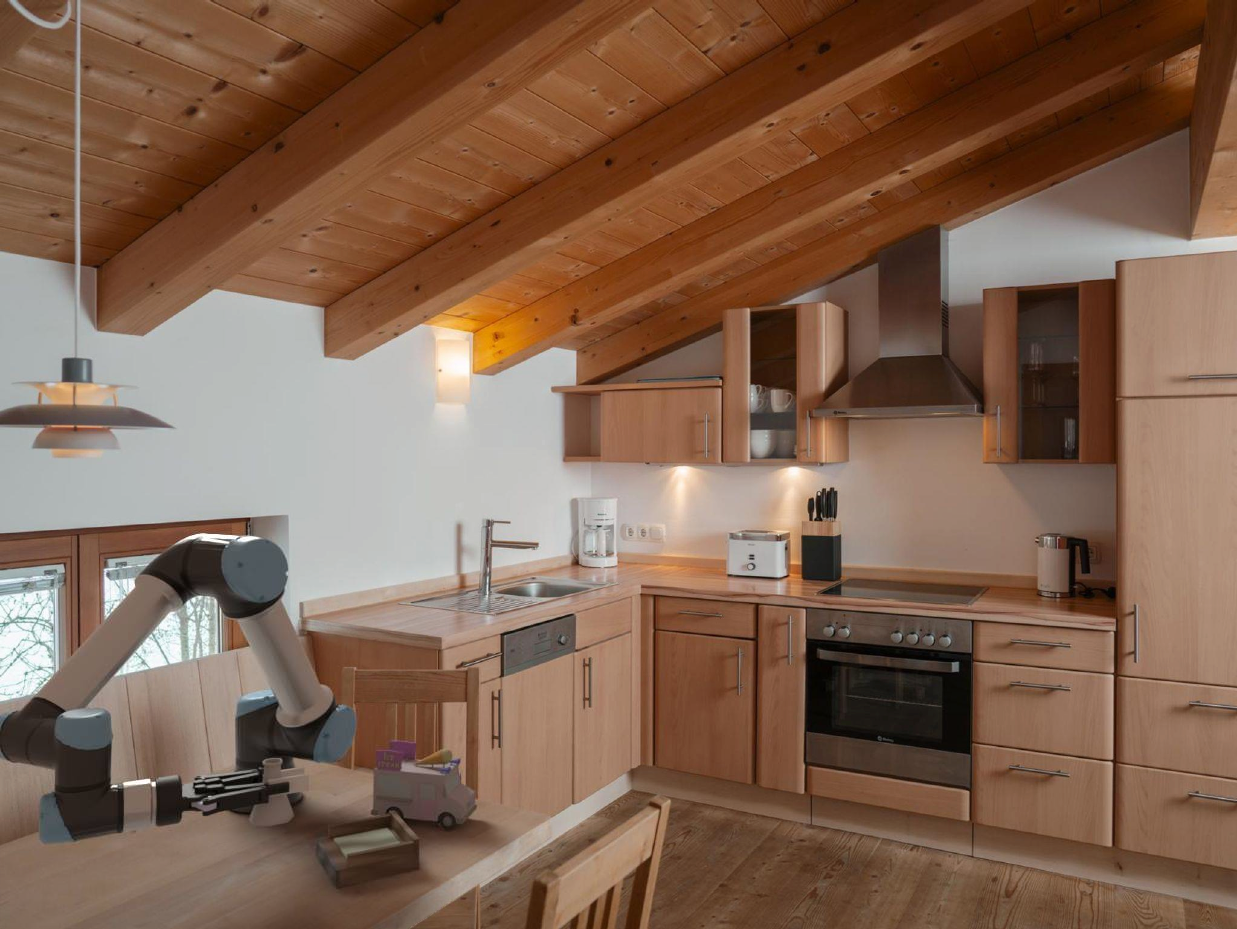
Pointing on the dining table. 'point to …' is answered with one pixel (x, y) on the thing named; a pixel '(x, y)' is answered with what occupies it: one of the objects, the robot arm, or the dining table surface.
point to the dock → (368, 849)
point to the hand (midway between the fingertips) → (305, 778)
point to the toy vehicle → (421, 786)
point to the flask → (272, 800)
